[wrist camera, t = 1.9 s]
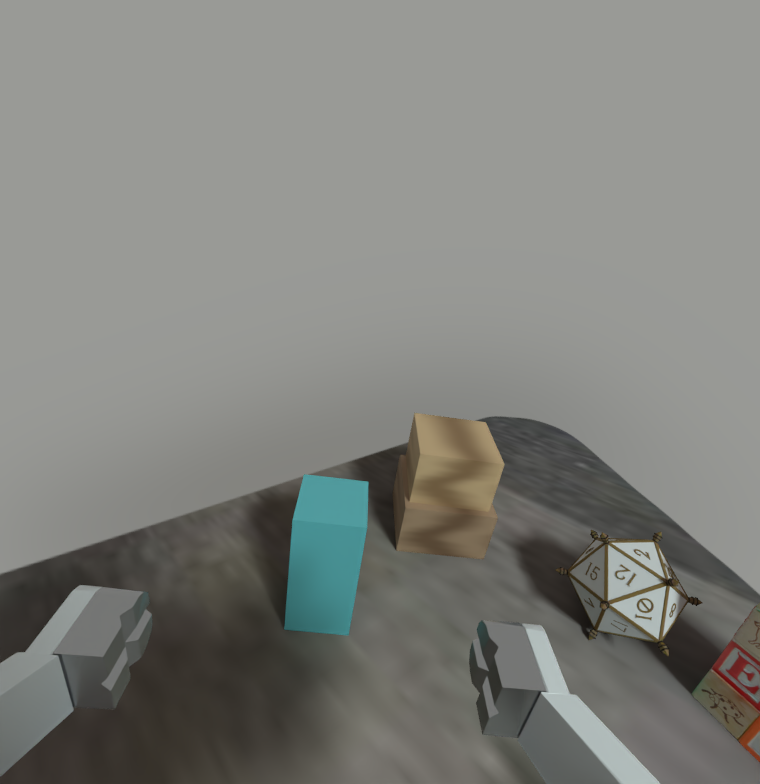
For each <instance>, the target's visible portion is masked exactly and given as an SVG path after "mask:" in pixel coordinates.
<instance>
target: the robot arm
mask: <svg viewBox="0 0 760 784" xmlns="http://www.w3.org/2000/svg"><path fill="white" fill-rule="evenodd" d="M149 602H150V599H149V594H148V592H143V591H134V590H125V589H116V588H107V587H98V586H87V585H80V586H78V587H77V588H76V589H74V590H73V591H72V592H71V593H70V594H69V596H68V597H67V598H66V600H65V601H64V602H63V604H62V605H61V606H60V607H59V609H58V610H57V611H56V613H55V614H54V615H53V617H52V618H51V619H50V620H49V622H48V623H47V624H46V626H45V627H44V628H43V629H42V631H41V632H40V633H39V635H38V636H37V637H36V639H35V640H34V641H33V642H32V644H31V645H30V646H29V648H28V649H27V650H26V652H17V653H15V654H14V655H12V656H11V657H9V658H8V659H6V660H4V661H3V662H1V663H0V777H1V776H2V775H3V774H4V773H5V772H6V771H7V770H8V769H9V768H11V767H12V766H13V765H14V764H15V763H16V762H17V761H18V760H19V759H21V758H22V757H23V756H24V755H25V754H26V753H27V752H28V751H29V750H31V749H32V748H33V747H34V746H35V745H36V744H37V743H38V742H39V741H41V740H42V739H43V738H44V737H45V736H46V735H47V734H48V733H49V732H51V731H52V730H53V729H54V728H55V727H56V726H57V725H58V724H59V723H61V722H62V721H63V720H64V719H65V718H66V717H67V716H68V715H69V714H70V713H72V712H73V711H74V708H92V709H115V708H116V706H117V704H118V702H119V700H120V698H121V696H122V694H123V692H124V690H125V688H126V686H127V684H128V682H129V680H130V678H131V676H130V670H129V667H130V666H131V665H132V664H134V663H135V662H136V661H138V660H139V659H140V658H141V657H142V655H143V653H144V651H145V648H146V646H147V644H148V641H149V638H150V634H151V631H152V614H151V613H150V612H149V611H148V610H146V608H147V606H148V604H149ZM477 633H478V638H477V639H475V640H474V641H473V642H472V645H471V649H470V658H469V665H470V674H471V680H472V684H473V685H474V686H475V687H476V689H477V690H478V691H479V692H480V694H479V697H478V699H477V702H476V705H477V710H478V715H479V720H480V725H481V730H482V735H491V736H501V737H510V738H518V742H519V743H520V745H521V746H522V748H523V749H524V751H525V752H526V754H527V755H528V757H529V758H530V760H531V761H532V763H533V764H534V766H535V767H536V769H537V770H538V772H539V773H540V775H541V776H542V778H543V779H544V781H545V782H546V784H660V783H659V782H658V780H657V779H656V778H655V777H654V776H653V775H652V774H651V773H650V772H649V771H648V770H647V769H646V768H645V767H644V766H643V765H642V764H641V763H640V762H639V760H638V759H637V758H636V757H635V756H634V755H633V754H632V753H631V752H630V751H629V750H628V749H627V748H626V747H625V746H624V745H623V744H622V743H621V742H620V740H619V739H618V738H617V737H616V736H615V735H614V734H613V733H612V732H611V731H610V730H609V729H608V728H607V727H606V726H605V725H604V724H603V723H602V722H601V720H600V719H599V718H598V717H597V716H596V715H595V714H594V713H593V712H592V711H591V710H590V709H589V708H588V707H587V706H586V705H585V704H584V703H583V702H582V701H581V699H580V698H579V697H578V696H577V695H575V694H570V693H569V690H568V688H567V685H566V683H565V680H564V678H563V675H562V673H561V670H560V668H559V665H558V663H557V660H556V658H555V655H554V652H553V650H552V647H551V645H550V642H549V640H548V637H547V635H546V632H545V630H544V628H543V627H542V626H541V625H535V624H520V623H517V622H502V621H488V620H482V621H481V622H479V625H478V628H477Z"/></svg>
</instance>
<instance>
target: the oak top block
mask: <svg viewBox="0 0 760 784" xmlns="http://www.w3.org/2000/svg"><path fill="white" fill-rule="evenodd" d="M406 467H407V478H408V490H409V502H413V503H421V504H429V505H437V506H445V507H454V508H462V509H470V510H478V511H486V512H489V510H490V507H491V504H492V501H493V498H494V495H495V492H496V489H497V486H498V483H499V480H500V477H501V473H502V470H503V467H504V462H503V460H502V458H501V456H500V453H499V451H498V449H497V447H496V444H495V442H494V440H493V438H492V435H491V433H490V431H489V429H488V426H487V424H486V422H479V421H471V420H463V419H456V418H449V417H441V416H434V415H426V414H418V413H414V418H413V423H412V428H411V433H410V437H409V442H408V447H407V452H406Z"/></svg>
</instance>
